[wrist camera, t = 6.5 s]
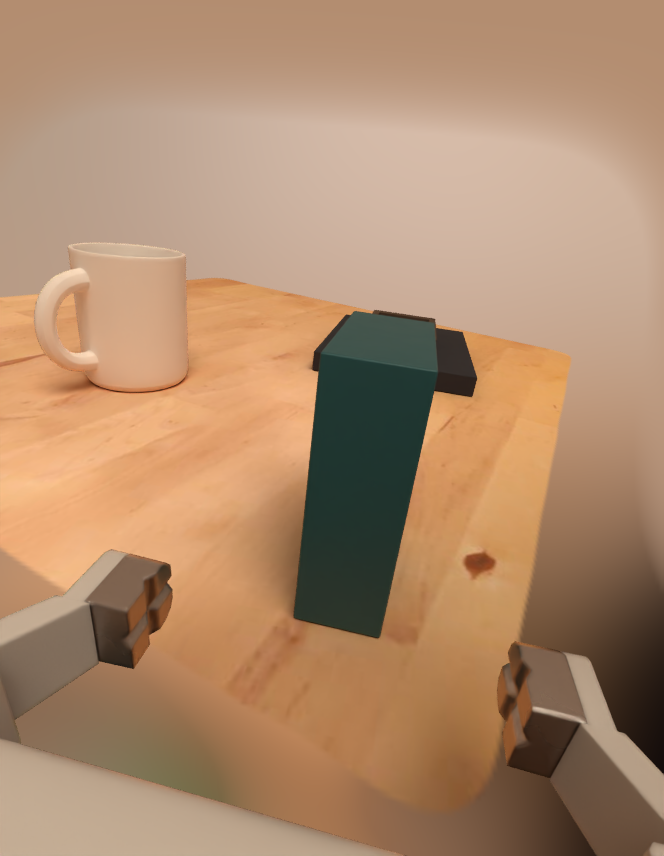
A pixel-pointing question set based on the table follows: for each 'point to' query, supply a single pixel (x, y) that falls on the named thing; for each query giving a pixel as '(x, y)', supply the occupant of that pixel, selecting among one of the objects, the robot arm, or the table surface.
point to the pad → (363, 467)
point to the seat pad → (451, 356)
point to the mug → (120, 315)
